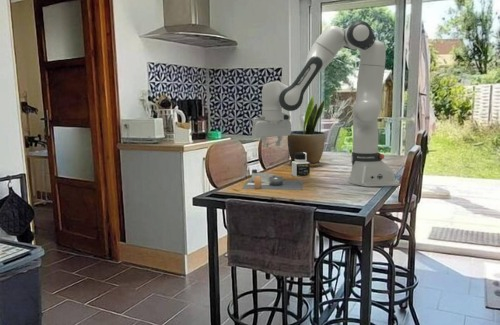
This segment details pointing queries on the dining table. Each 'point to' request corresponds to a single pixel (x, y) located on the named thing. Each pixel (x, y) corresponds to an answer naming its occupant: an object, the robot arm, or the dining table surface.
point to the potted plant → (308, 136)
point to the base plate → (285, 186)
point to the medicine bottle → (300, 165)
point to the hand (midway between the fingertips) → (271, 146)
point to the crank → (268, 178)
